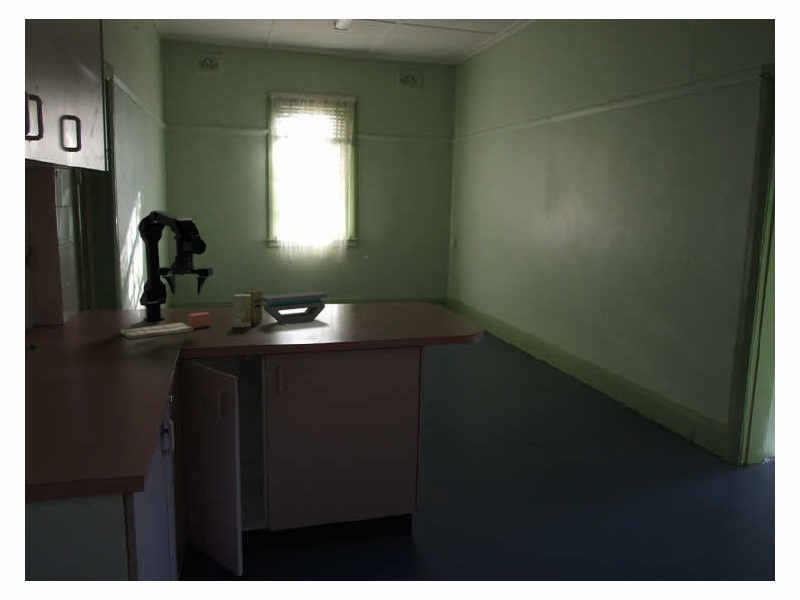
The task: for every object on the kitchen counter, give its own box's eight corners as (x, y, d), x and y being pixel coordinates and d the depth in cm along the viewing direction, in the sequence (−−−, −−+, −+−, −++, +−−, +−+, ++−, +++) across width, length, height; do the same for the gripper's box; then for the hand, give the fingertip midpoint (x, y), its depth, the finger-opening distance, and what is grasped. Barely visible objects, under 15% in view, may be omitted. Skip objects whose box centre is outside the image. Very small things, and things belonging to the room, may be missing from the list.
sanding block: (188, 327, 233) (188, 314, 232) (206, 324, 238) (205, 312, 237) (193, 328, 230) (192, 315, 229) (210, 326, 235) (210, 313, 234)
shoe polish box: (244, 321, 244) (243, 291, 242) (252, 319, 248) (251, 290, 246) (254, 322, 242) (253, 292, 240) (262, 320, 246) (261, 290, 244)
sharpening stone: (268, 326, 234) (267, 298, 232) (261, 323, 241) (260, 296, 239) (327, 320, 247) (327, 293, 245) (319, 317, 254) (319, 291, 252)
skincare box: (234, 327, 232) (233, 296, 230) (234, 325, 236) (233, 294, 234) (251, 326, 234) (250, 295, 232) (251, 324, 238) (250, 293, 236)
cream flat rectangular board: (120, 333, 221) (120, 330, 221) (181, 325, 235) (180, 322, 235) (131, 339, 212) (131, 335, 212) (193, 330, 226) (193, 327, 226)
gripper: (149, 254, 216) (152, 297, 219) (202, 255, 215) (203, 298, 218) (162, 251, 227) (165, 292, 230) (212, 252, 226) (214, 293, 229)
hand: (186, 294), depth 226 cm, fingers open, 9 cm apart
